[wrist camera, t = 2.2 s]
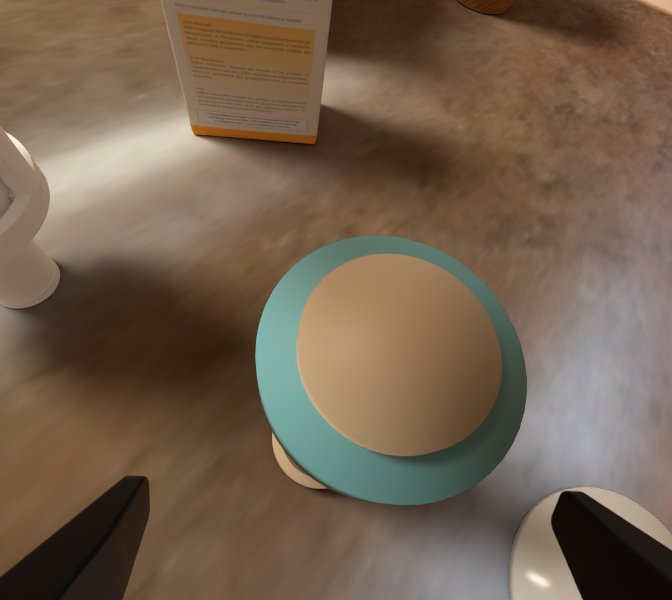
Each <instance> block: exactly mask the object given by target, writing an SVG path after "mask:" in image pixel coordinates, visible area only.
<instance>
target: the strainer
mask: <svg viewBox="0 0 672 600" xmlns="http://www.w3.org/2000/svg"><path fill="white" fill-rule="evenodd" d="M49 201H50V193H49V187H48V183H47V181H46V178H45V176H44V174H43V173H42V171H41V170H40V168H39V167H38V166H37V164H36V163H35V162H34V160H33V159H32V157H31V156H30V155H29V153H28V152H27V150H26V149H25V148H24V147H23V145H22V144H21V143H20V142H19V141H18V140H16V139H15V138H14V137H12V136H11V135H9V134H8V133H6V132H5V131H4V130H3V128H2V127H1V126H0V305H2V306H4V307H8V308H15V309H19V308H27V307H31V306H34V305H36V304H38V303H40V302H42V301H44V300H45V299H47V298H48V297H49V296H50V295H51V294H52V293H53V292H54V291H55V289H56V288H57V286H58V284H59V281H60V270H59V268H58V266H57V264H56V263H55V262H54V261H53V260H52V259H51V258H50V257H49V256H48V255H47V254H46V253H45V252H44V251H43V250H42V249H41V248H40V247H39V246H38V245H37V244H36V243H35V241H34V240H33V238H34V237H35V235H36V234H37V232H38V231H39V229H40V228H41V226H42V224H43V222H44V220H45V218H46V215H47V212H48V208H49Z"/></svg>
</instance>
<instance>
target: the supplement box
mask: <svg viewBox="0 0 672 600" xmlns="http://www.w3.org/2000/svg"><path fill="white" fill-rule="evenodd" d="M161 3H162V7H163V11H164V16H165V20H166V24H167V28H168V33H169V37H170V41H171V45H172V50H173V54H174V58H175V62H176V66H177V70H178V75H179V79H180V83H181V87H182V91H183V96H184V100H185V104H186V108H187V112H188V116H189V120H190V124H191V128H192V131H193V133H194V134H199V135H212V136H224V137H237V138H249V139H260V140H273V141H283V142H295V143H307V144H314V143H315V142H316V138H317V130H318V122H319V113H320V106H321V97H322V88H323V80H324V70H325V61H326V52H327V43H328V34H329V26H330V17H331V7H332V0H161Z"/></svg>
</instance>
